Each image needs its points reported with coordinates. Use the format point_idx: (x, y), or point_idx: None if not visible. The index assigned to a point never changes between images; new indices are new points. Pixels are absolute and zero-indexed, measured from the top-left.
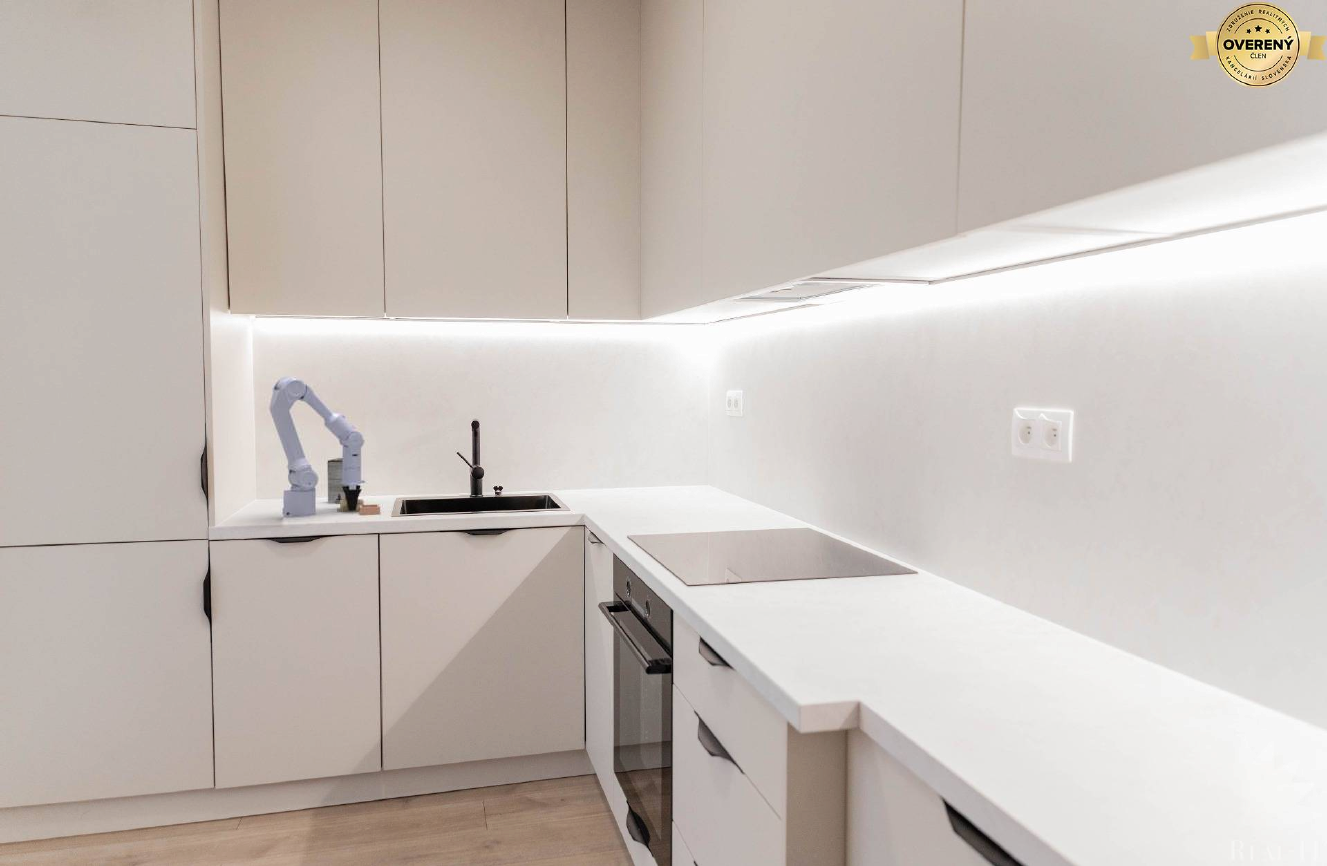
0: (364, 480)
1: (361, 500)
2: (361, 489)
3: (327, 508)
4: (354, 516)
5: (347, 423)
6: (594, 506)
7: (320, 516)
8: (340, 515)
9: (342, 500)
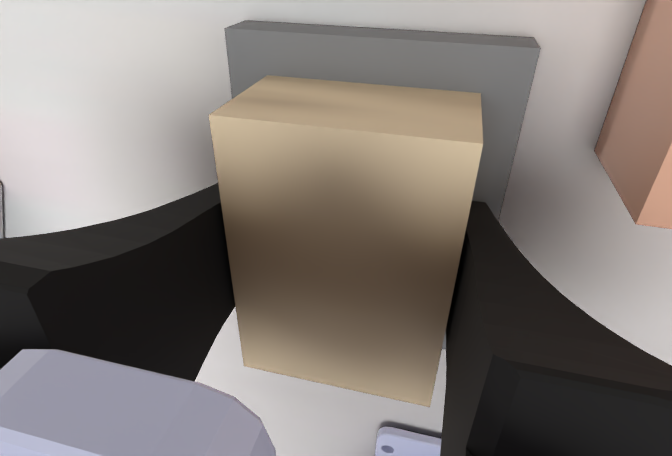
0: (34, 454)
1: (360, 159)
2: (666, 401)
3: None
4: (609, 204)
5: None
6: None
7: None
8: None
9: (298, 360)
